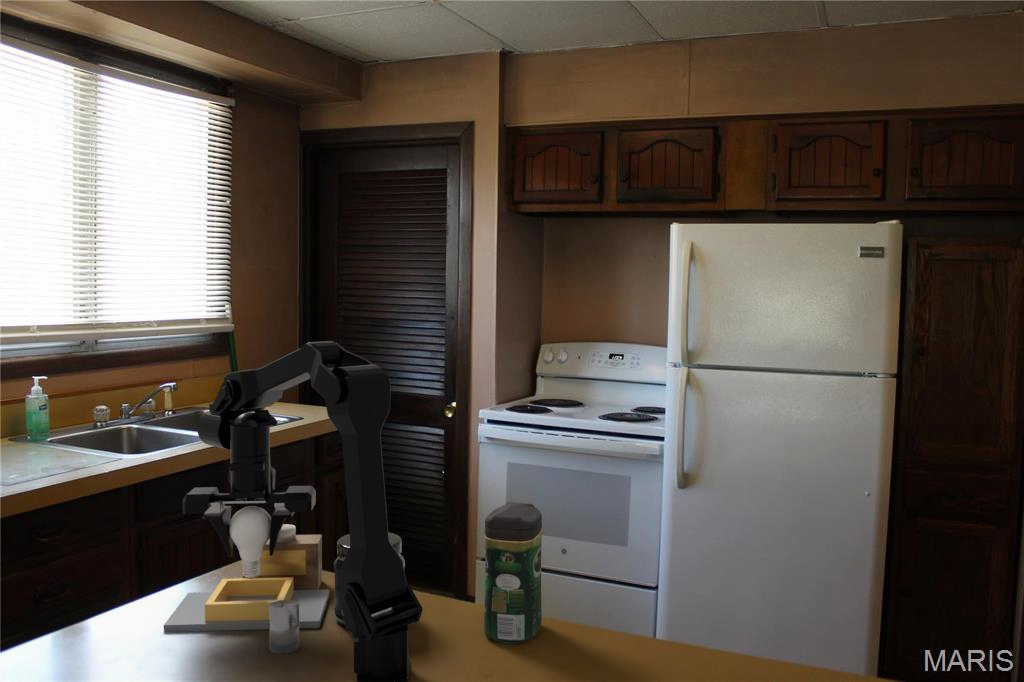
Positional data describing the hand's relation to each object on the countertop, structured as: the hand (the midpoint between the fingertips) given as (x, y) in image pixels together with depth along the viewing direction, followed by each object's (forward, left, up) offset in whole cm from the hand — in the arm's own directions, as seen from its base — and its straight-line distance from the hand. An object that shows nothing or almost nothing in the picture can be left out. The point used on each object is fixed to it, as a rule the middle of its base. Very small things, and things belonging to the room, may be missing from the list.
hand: (251, 555), depth 130 cm
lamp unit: (-3, -11, -9) cm, 15 cm away
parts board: (0, 0, -9) cm, 9 cm away
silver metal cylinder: (-7, +13, -9) cm, 17 cm away
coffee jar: (-39, +10, -9) cm, 41 cm away
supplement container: (-18, +3, -9) cm, 20 cm away
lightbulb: (0, 0, -4) cm, 4 cm away
